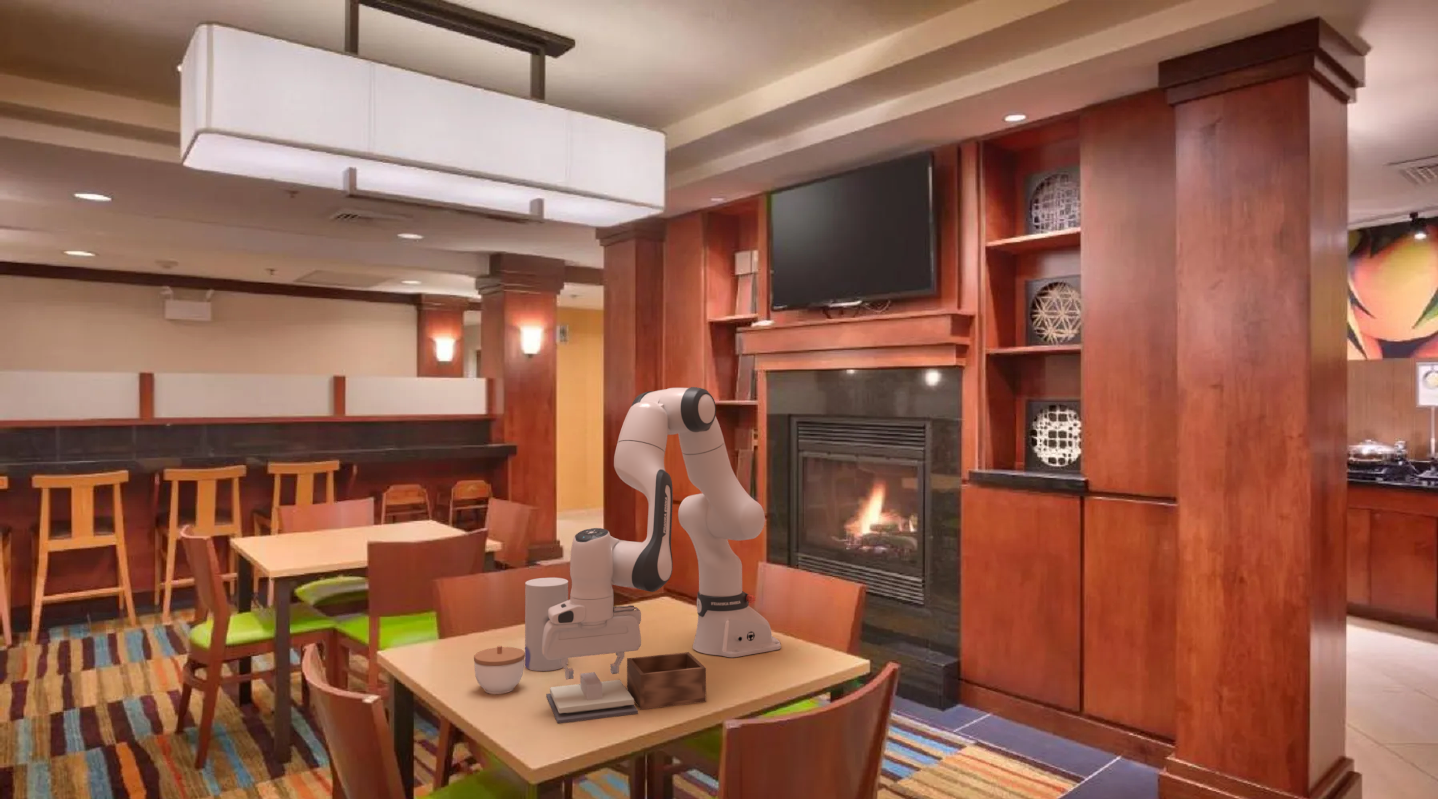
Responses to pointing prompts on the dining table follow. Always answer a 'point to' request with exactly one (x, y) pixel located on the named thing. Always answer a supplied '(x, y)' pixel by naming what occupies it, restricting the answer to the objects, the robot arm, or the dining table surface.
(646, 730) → the dining table surface
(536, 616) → the container
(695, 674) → the box
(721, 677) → the dining table surface
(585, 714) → the mat
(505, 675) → the lidded jar
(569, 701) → the lid
